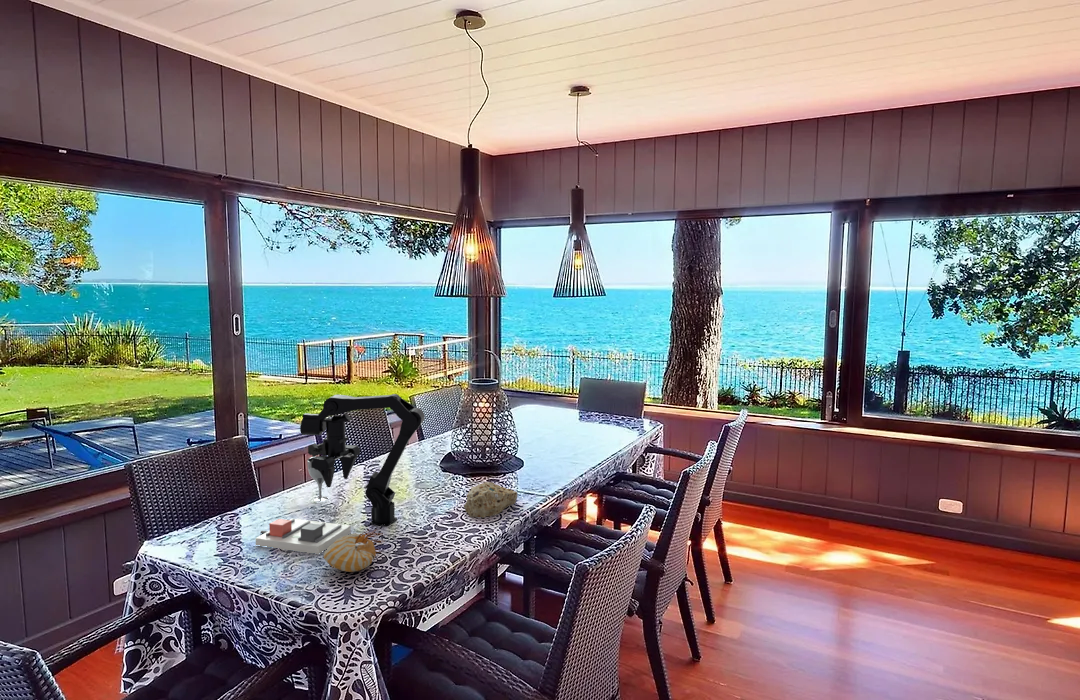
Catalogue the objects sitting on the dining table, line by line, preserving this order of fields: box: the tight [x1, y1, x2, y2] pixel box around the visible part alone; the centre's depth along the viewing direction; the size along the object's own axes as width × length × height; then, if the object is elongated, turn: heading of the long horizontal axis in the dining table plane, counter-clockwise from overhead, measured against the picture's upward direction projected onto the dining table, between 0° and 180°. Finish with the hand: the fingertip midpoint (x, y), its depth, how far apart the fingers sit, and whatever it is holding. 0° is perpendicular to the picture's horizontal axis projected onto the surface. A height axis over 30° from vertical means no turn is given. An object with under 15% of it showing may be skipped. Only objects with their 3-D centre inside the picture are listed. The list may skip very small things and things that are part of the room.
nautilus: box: [323, 528, 384, 573], centre depth 162 cm, size 8×22×15 cm
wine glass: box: [306, 455, 328, 501], centre depth 211 cm, size 8×8×15 cm
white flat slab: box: [255, 518, 352, 555], centre depth 178 cm, size 26×16×3 cm, turn 75°
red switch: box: [268, 518, 292, 537], centre depth 175 cm, size 4×4×4 cm
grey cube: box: [301, 523, 323, 542], centre depth 172 cm, size 4×4×4 cm
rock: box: [463, 481, 518, 519], centre depth 204 cm, size 21×14×10 cm
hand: (337, 482), depth 190 cm, fingers open, 9 cm apart
